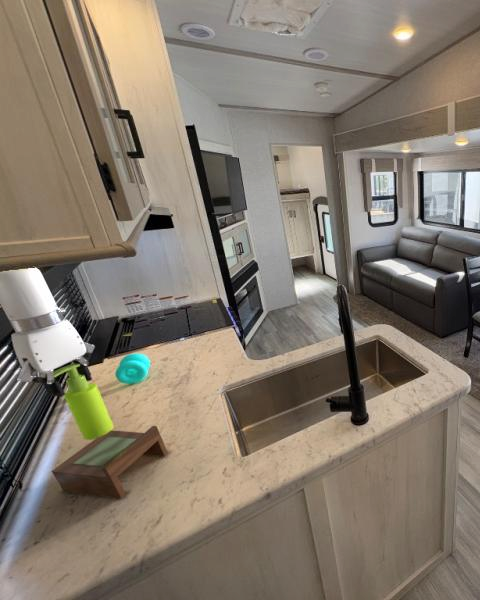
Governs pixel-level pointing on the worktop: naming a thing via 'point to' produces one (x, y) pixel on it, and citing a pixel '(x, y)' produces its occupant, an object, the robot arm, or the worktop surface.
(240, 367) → the worktop surface
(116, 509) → the worktop surface
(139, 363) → the turquoise spool
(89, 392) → the soap dispenser
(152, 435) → the wooden picture frame
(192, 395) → the worktop surface
